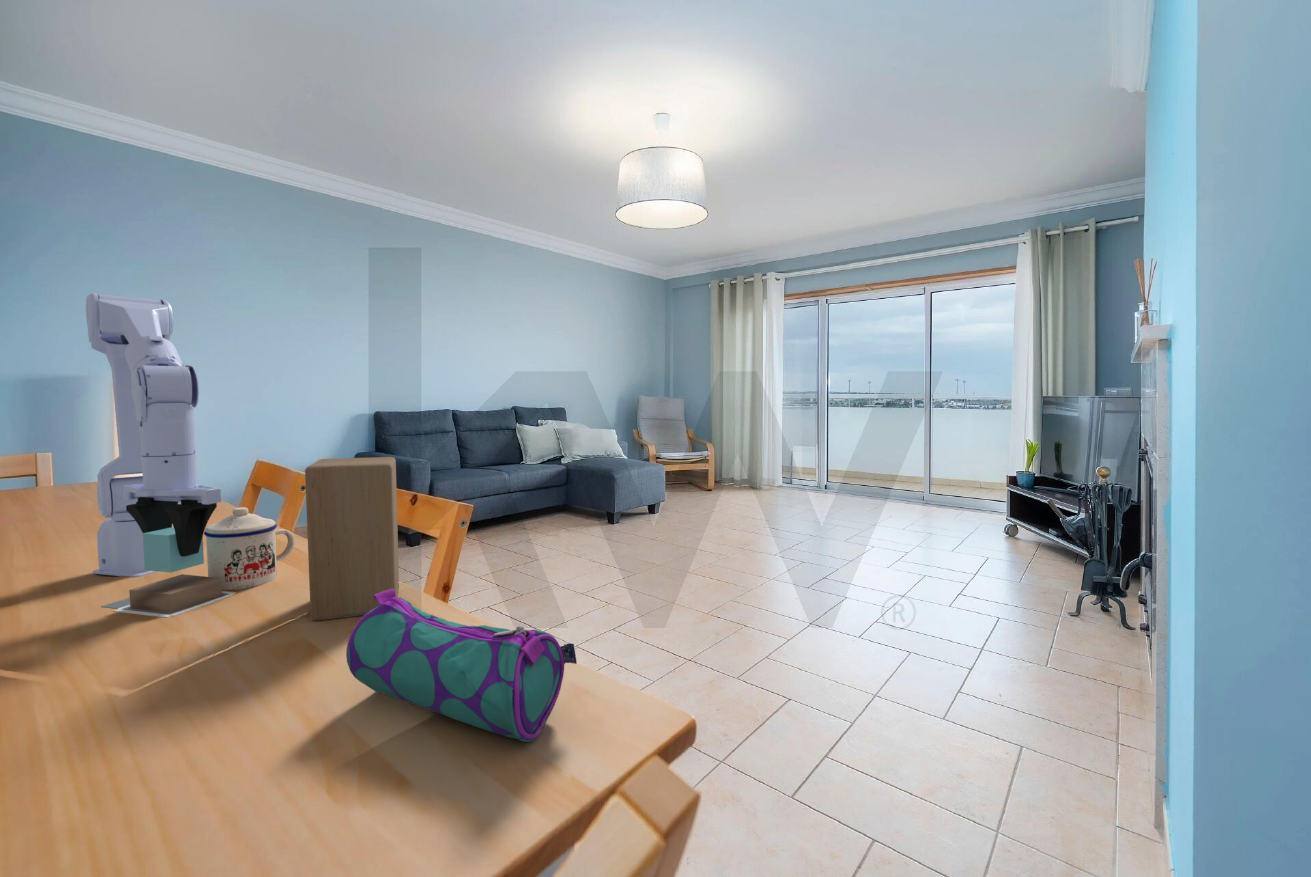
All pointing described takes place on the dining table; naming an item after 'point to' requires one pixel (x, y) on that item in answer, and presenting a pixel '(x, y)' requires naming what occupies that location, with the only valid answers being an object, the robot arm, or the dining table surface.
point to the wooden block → (351, 534)
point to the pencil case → (459, 667)
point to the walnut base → (175, 593)
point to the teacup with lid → (244, 550)
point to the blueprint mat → (125, 607)
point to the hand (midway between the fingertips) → (174, 553)
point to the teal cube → (167, 552)
